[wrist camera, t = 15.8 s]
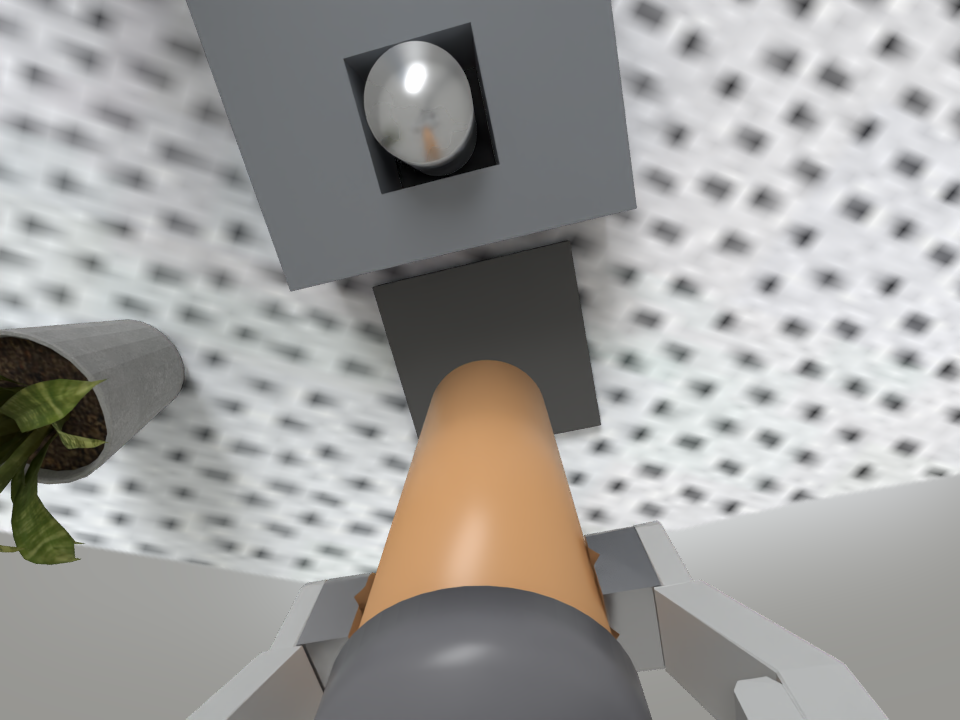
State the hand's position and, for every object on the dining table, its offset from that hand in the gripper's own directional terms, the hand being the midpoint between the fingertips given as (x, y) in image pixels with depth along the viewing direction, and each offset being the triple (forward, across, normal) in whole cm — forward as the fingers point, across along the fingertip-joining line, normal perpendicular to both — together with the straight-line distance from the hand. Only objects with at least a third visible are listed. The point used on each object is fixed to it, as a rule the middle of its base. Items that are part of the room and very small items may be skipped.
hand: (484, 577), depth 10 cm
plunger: (+15, 0, -11) cm, 18 cm away
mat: (+16, 0, 0) cm, 16 cm away
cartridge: (+8, 0, 0) cm, 8 cm away
